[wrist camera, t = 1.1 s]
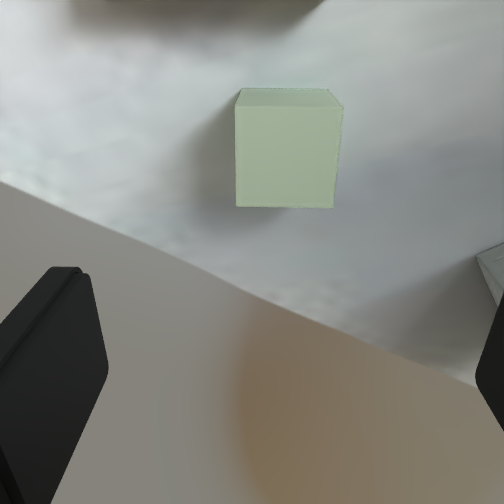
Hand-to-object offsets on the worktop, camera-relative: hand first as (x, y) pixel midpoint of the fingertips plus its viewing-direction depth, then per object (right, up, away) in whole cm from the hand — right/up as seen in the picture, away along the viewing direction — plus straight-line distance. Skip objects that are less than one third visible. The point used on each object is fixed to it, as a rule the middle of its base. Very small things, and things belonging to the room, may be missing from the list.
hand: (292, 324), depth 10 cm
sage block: (+1, +9, +16) cm, 18 cm away
